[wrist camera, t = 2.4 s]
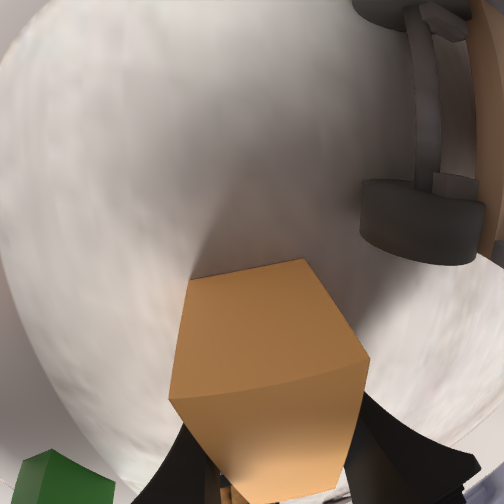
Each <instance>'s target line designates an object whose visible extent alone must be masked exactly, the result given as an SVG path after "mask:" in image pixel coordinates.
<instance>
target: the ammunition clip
mask: <svg viewBox="0 0 504 504" xmlns="http://www.w3.org/2000/svg"><path fill="white" fill-rule="evenodd" d="M220 493H221V503H222V504H250V503H249V502H248V501H247V500H246V499H245V498H244V497H243V496H242V495H241V494H240V493H239V492H238V490H237V489H236V488H235V487H234V486H233V485H232V484H231V483H230V481H229V480H228V479H227V478H226V477H225V476H224V475H221V476H220ZM268 504H279V502H275V503H268Z"/></svg>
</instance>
